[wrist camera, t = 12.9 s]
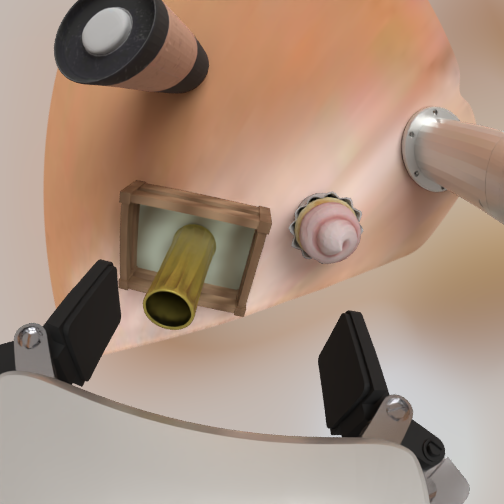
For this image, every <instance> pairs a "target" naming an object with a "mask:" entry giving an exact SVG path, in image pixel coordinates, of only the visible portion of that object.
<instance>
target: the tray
mask: <svg viewBox="0 0 504 504" xmlns="http://www.w3.org/2000/svg"><path fill="white" fill-rule="evenodd" d="M120 202H121V203H122V204H121V224H120V279H119V288H121V289H125V290H128V289H132V290H136V291H140V292H144V293H147V291H148V289H149V288H150V286H151V284H152V282H153V280H154V278H155V276H156V274H157V272H158V271H159V269H160V266H161V264H162V262H163V260H164V258H165V256H166V254H167V252H168V250H169V248H170V246H171V244H172V241H173V237H174V235H175V233H176V232H177V230H179V229H180V228H181V227H183V226H185V225H189V224H196V225H200V226H203V227H205V228H206V229H208V230H209V231H210V232H211V233H212V235H213V236H214V238H215V241H216V251H215V254H214V255H213V257H212V260H211V263H210V266H209V269H208V272H207V275H206V278H205V281H204V284H203V287H202V291H201V294H200V298H199V301H198V306H203V307H207V308H212V309H217V310H221V311H226V312H231V313H234V315H236V316H241V317H244V314H245V311H246V302H247V299H248V295H249V292H250V289H251V285H252V282H253V279H254V275H255V272H256V269H257V265H258V262H259V259H260V255H261V252H262V249H263V245H264V242H265V238H266V235H267V234H269V232H270V229H271V225H272V220H271V213H270V208H266V207H262V206H259V207H256V206H251V205H247V204H243V203H238V202H234V201H229V200H225V199H220V198H216V197H211V196H206V195H202V194H197V193H192V192H187V191H182V190H177V189H172V188H167V187H162V186H157V185H151V184H146V182H143V181H137V180H136V181H135V182H133V183H132V184H130V185H129V186H127V187H126V188H124V189H123V190H121V191H120Z"/></svg>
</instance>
